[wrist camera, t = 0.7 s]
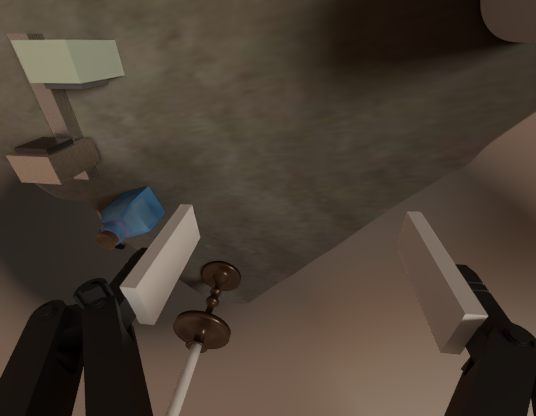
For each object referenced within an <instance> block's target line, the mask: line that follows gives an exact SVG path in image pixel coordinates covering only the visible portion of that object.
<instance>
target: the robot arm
mask: <svg viewBox="0 0 536 416" xmlns="http://www.w3.org/2000/svg"><path fill="white" fill-rule="evenodd" d="M199 239H200V235H199V231H198V227H197V223H196V219H195V215H194V211H193V207H192V205H183V204H181V205H180V206H179V207H178V209H177V210H176V212H175V213H174V214H173V216H172V217H171V218H170V220H169V221H168V222H167V224H166V225H165V226H164V228H163V229H162V230H161V232H160V233H159V234H158V236H157V237H156V238H155V240H154V241H153V242H152V244H151V245H150V246H149V248H141V249H140V250H138V251H137V252H136V253H135V254H133V255H132V257H131V258H130V259H129V261H128V263H126V264H125V266H124V267H123V269H121V271H120V272H119V273H118V274H117V276H116V277H115V278H114V279H113V281H112V282H111V283H110V284H109V285H108V283H107V281H106V280H105V279H103V278H95V279H92V280H89V281H87V282H85V283H83V284H82V285H81V286H80V287H78V289H77V290H76V291H75V293H74V296H73V298H74V299H75V301H76V302H77V303H78V304H74V305H69V306H66V304H65V303H64V302H63V301H62V300H52V301H50V302H47V303H45V304H43V305H42V306H40V307H39V308H38V309H36V310H35V311H34V312H33V314H32V315H31V316H30V318H29V320H28V322H27V324H26V326H25V328H24V330H23V332H22V334H21V336H20V339H19V340H18V343H17V345H16V347H15V349H14V351H13V353H12V355H11V357H10V359H9V361H8V363H7V366H6V368H5V370H4V372H3V374H2V376H1V378H0V416H72V412H73V408H74V403H75V399H76V395H77V391H78V387H79V383H80V379H81V374H82V370H83V366H84V380H85V381H84V382H85V409H86V416H153V413H152V408H151V403H150V399H149V394H148V390H147V386H146V381H145V376H144V372H143V368H142V363H141V358H140V355H139V350H138V345H137V340H136V336H135V331H134V327H133V325H132V322H133V320H134V319H135V317H136V318H137V319H138V321H139V323H140V324H150V325H154V324H155V322H156V320H157V318H158V317H159V315H160V313H161V311H162V309H163V307H164V305H165V303H166V301H167V299H168V298H169V296H170V294H171V292H172V290H173V288H174V286H175V284H176V282H177V280H178V279H179V277H180V275H181V273H182V271H183V269H184V267H185V265H186V263H187V261H188V260H189V258H190V256H191V254H192V252H193V250H194V248H195V246H196V244H197V242H198V241H199ZM396 249H397V251H398V253H399V256H400V258H401V260H402V263H403V265H404V267H405V270H406V272H407V275H408V277H409V279H410V282H411V284H412V286H413V289H414V291H415V293H416V296H417V298H418V300H419V303H420V305H421V307H422V310H423V312H424V315H425V317H426V319H427V321H428V324H429V326H430V329H431V331H432V333H433V336H434V338H435V341H436V343H437V345H438V347H439V350H440V352H441V353H450V354H461V352H462V351H463V350H464V348H465V347H466V348H467V350H468V352H469V354H470V358H469V359H468V360H467V362H466V363H465V364H464V365H463V367H462V368H461V370H463V372H462V375H461V377H460V380H459V382H458V384H457V387H456V389H455V391H454V394H453V396H452V399H451V401H450V403H449V406H448V408H447V410H446V413H445V415H444V416H527V413H528V408H529V404H530V399H531V400H532V407H533V413H534V416H536V338H535V337H534V336H533V335H532V334H531V333H530V332H528V331H527V330H525V329H524V328H522V327H521V326H519V325H516V324H514V323H512V322H511V321H510V320H509V319H508V317H507V316H506V315H505V313H504V312H503V310H502V309H501V307H500V306H499V305H498V303H497V302H496V301H495V299H494V298H493V296H492V295H491V293H489V292H488V289H487V288H486V286H485V285H483V282H482V281H481V279H480V278H479V277H478V275H477V274H476V273H475V272H474V271H473V270H471V269H470V268H469V267H468V266H466V265H456V264H454V262H453V261H452V259H451V258H450V256H449V255H448V253H447V251H446V250H445V248H444V247H443V245H442V244H441V242H440V241H439V239H438V238H437V236H436V235H435V233H434V231H433V230H432V228H431V227H430V225H429V224H428V222H427V221H426V219H425V218H424V216H423V215H422V213H421V212H407V213H406V216H405V219H404V222H403V225H402V229H401V232H400V235H399V238H398V241H397V245H396Z"/></svg>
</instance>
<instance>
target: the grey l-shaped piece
mask: <svg viewBox="0 0 536 416" xmlns="http://www.w3.org/2000/svg"><path fill="white" fill-rule="evenodd" d="M7 36H8V38H9V40H10V42H11V40H44V37H43V35H42V34H7ZM11 44H12V43H11ZM12 46H13V45H12ZM13 49H14V47H13ZM14 51H15V49H14ZM15 53H16V51H15ZM16 55H17V53H16ZM17 57H18V55H17ZM18 59H19V58H18ZM19 61H20V60H19ZM20 64H21V62H20ZM21 66H22V64H21ZM22 68H23V66H22ZM23 70H24V68H23ZM24 72H25V71H24ZM25 74H26V73H25ZM26 76H27V75H26ZM27 79H28V77H27ZM28 81H29V79H28ZM29 83H30V81H29ZM30 85H31V87H32V89H33V91H34V94H35V96H36V98H37V100H38V102H39V104H40V107H41V109H42V111H43V113H44V115H45V117H46V119H47V122H48V124H49V126H50V128H51V130H52V132H53V134H54V137H53V138H48V137H42V138H40V139H37V140H34V141H31V142H29V143H26V144H23V145H21V146H18V147H15V148H14V149H15V151H16V152H13V153H10V154H8V155H6V157H7V159H8V160H9V162H10V164H11V165H12V167H13V169H14V170H15V172H16V174H17V175H18V177H19V179H20V180H21V182H27V183H43V184H60V185H62V184H63V183H65V182H67V181H68V180H70V179H72V178H73V177H74V179H85V180H90V179H91V178H93V177H94V176H96V175H98V171H97V169H96V166H95V165H96V164H97V163H99V162H101V161H100V158H99V156H98V153H97V151H96V148H95V146H94V143H93V140H92V138H88V137H85V138H84V137H83V134H82V132H81V129H80V127H79V124H78V122H77V119H76V117H75V114H74V112H73V109H72V107H71V104H70V102H69V99H68V97H67V94H66V92H65V89H46V88H45V85H44V83H30Z"/></svg>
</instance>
